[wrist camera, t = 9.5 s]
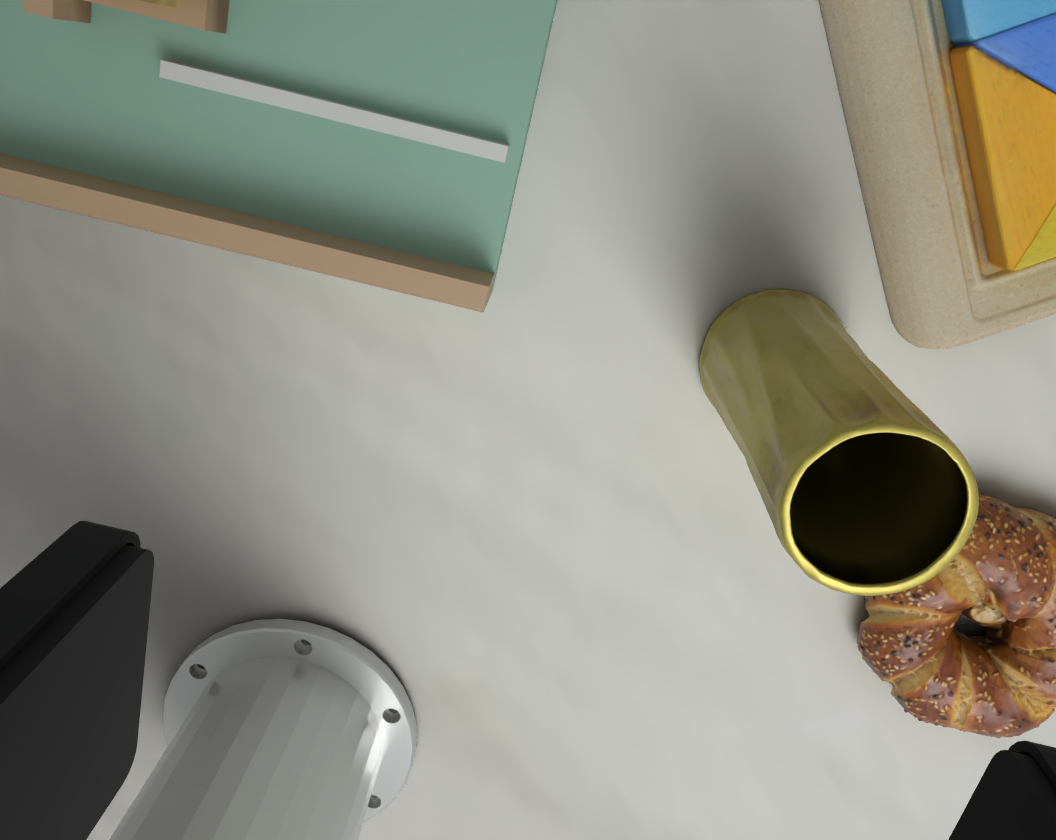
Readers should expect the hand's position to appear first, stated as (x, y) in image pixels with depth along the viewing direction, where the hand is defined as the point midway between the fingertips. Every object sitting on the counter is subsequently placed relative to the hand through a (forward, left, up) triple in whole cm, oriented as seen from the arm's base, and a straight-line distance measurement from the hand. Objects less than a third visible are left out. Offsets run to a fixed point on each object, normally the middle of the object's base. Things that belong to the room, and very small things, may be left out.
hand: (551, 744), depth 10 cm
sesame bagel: (-11, -21, -29) cm, 37 cm away
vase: (-2, -9, -28) cm, 30 cm away
